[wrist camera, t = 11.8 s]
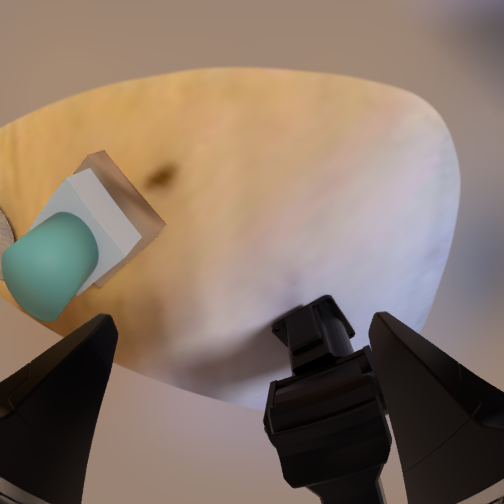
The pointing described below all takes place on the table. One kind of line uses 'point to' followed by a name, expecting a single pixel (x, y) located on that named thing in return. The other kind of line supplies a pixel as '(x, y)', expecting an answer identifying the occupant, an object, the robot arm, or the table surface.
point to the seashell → (4, 238)
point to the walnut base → (124, 205)
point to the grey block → (94, 219)
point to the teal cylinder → (50, 265)
